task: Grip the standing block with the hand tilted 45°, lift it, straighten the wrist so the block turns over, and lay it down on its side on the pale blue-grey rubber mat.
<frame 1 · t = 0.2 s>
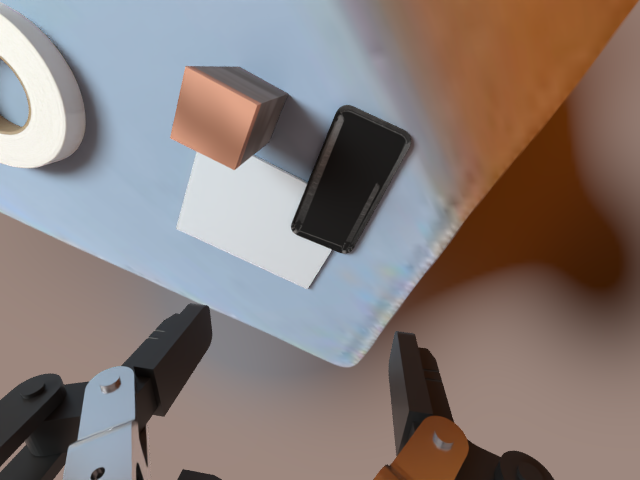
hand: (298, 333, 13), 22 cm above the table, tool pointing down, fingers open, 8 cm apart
phone: (346, 184, 33), on the table
block: (255, 106, 29), on the table
roll of tape: (17, 89, 32), on the table
mat: (262, 217, 35), on the table
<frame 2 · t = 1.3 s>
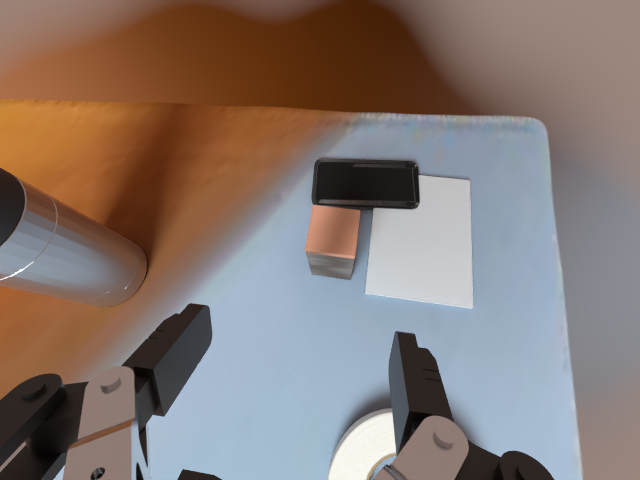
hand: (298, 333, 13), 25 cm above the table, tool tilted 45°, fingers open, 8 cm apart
phone: (364, 187, 44), on the table
block: (333, 258, 40), on the table
mat: (419, 234, 40), on the table
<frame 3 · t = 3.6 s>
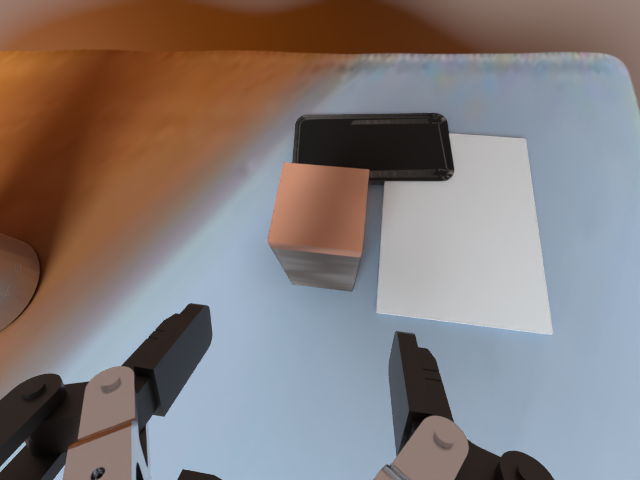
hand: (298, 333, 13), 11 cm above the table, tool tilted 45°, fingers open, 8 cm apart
phone: (369, 153, 30), on the table
block: (325, 259, 26), on the table
mat: (456, 219, 27), on the table
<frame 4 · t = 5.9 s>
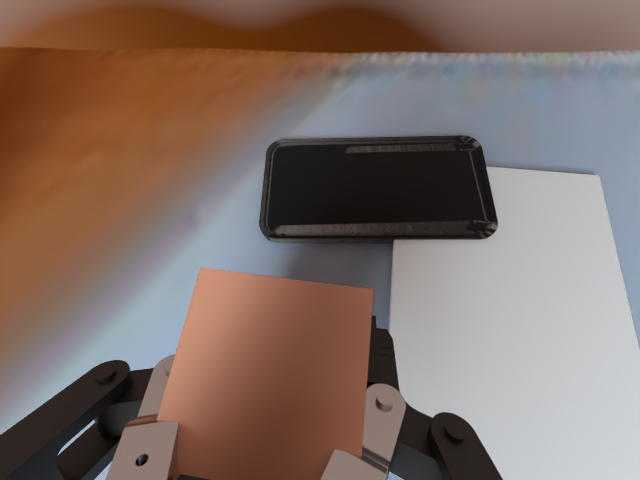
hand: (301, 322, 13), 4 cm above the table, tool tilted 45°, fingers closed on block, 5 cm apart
phone: (371, 193, 21), on the table
block: (305, 364, 17), on the table, touching gripper
mat: (502, 301, 18), on the table
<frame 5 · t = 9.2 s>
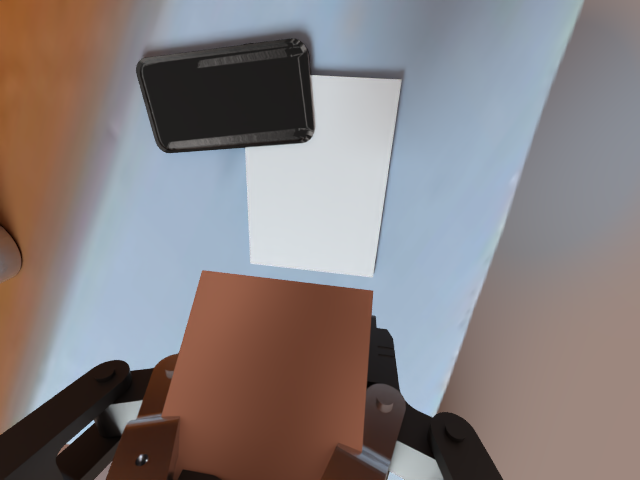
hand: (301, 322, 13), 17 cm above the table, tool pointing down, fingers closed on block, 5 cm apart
phone: (230, 101, 27), on the table
block: (304, 365, 17), point 15 cm above the table, tilted 45°, touching gripper
mat: (315, 184, 28), on the table
when the fingers open (6 cm above the table, at t = 11.3 s): block moves 2 cm and tips over, resting on mat.
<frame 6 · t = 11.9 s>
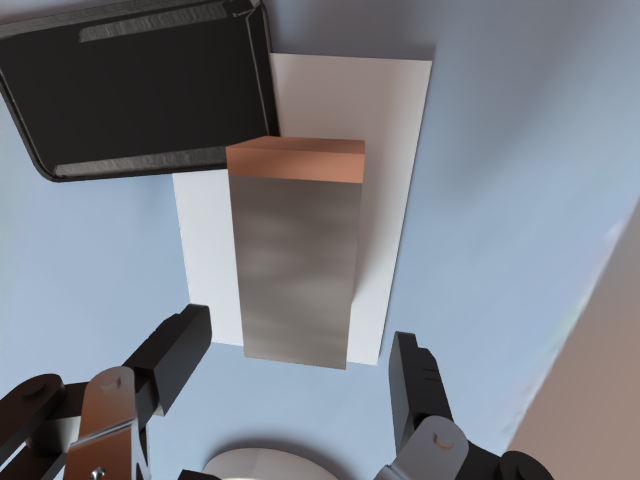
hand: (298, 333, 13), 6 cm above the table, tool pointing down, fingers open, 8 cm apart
phone: (147, 98, 16), on the table
block: (303, 329, 17), point 3 cm above the table, tilted 90°, touching mat
mat: (286, 231, 18), on the table
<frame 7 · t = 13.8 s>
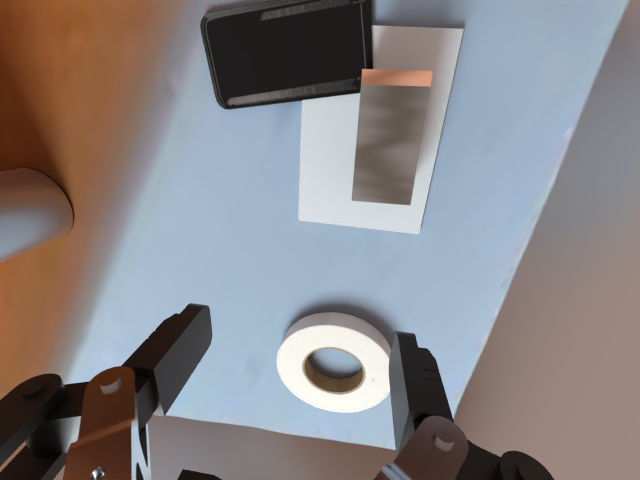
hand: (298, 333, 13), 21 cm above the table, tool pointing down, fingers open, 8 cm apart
phone: (289, 54, 28), on the table
block: (379, 195, 28), point 3 cm above the table, tilted 90°, touching mat
roll of tape: (336, 355, 42), on the table
mat: (367, 139, 29), on the table
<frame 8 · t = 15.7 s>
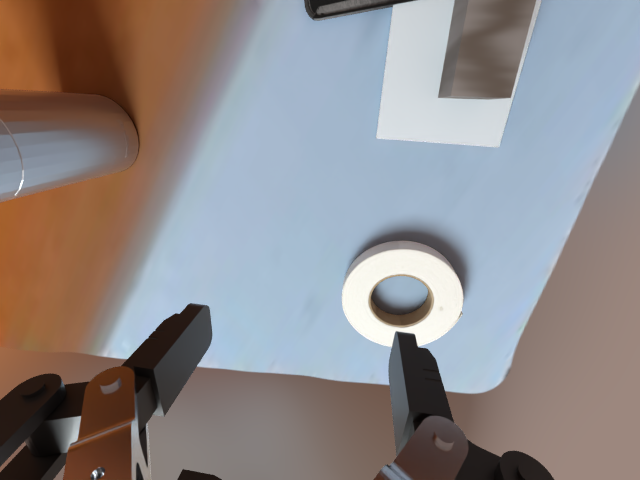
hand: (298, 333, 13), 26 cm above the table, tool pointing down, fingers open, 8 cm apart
block: (470, 98, 28), point 3 cm above the table, tilted 90°, touching mat
roll of tape: (398, 289, 42), on the table
mat: (455, 46, 29), on the table
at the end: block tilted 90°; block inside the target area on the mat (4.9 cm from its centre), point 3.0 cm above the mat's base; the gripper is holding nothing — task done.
